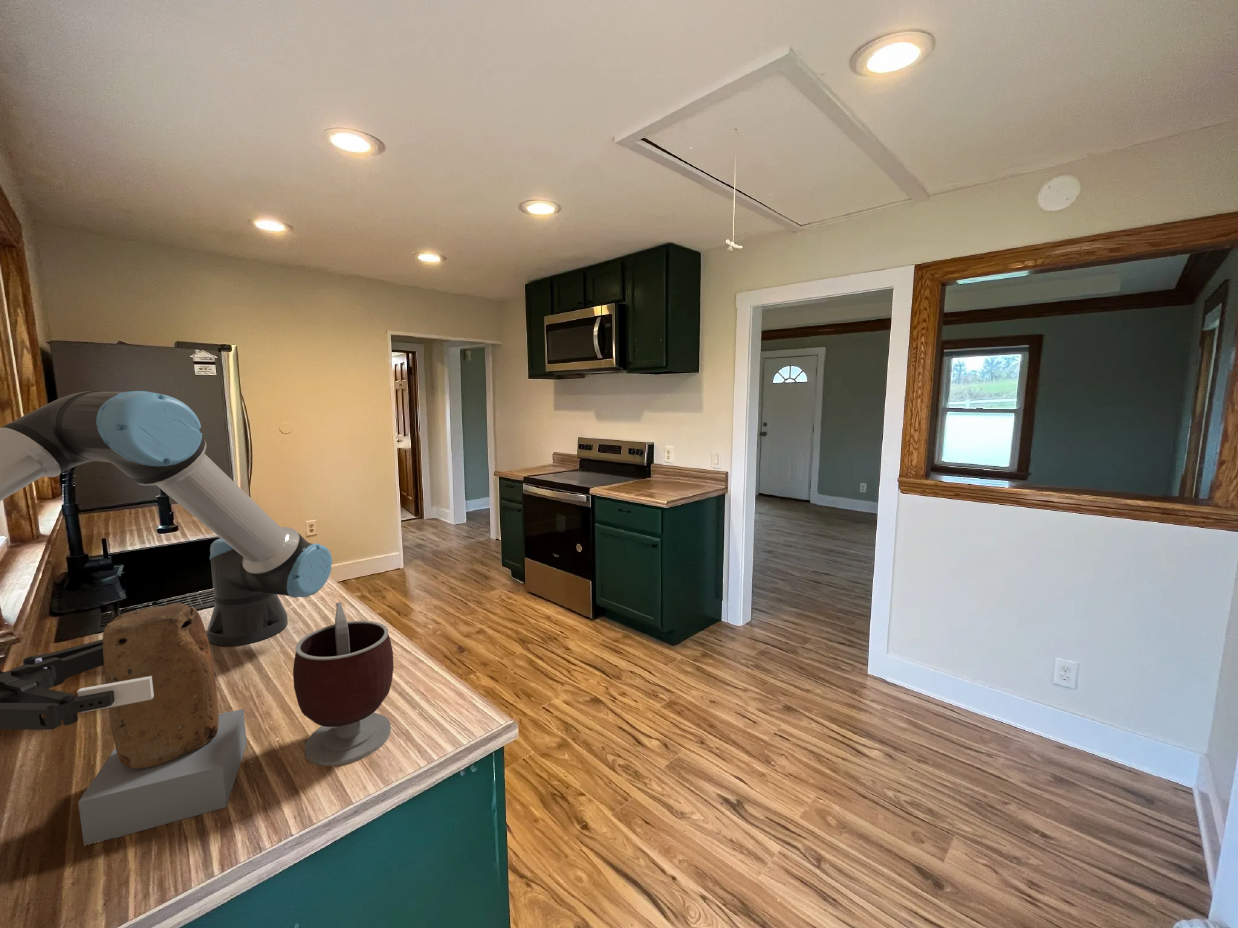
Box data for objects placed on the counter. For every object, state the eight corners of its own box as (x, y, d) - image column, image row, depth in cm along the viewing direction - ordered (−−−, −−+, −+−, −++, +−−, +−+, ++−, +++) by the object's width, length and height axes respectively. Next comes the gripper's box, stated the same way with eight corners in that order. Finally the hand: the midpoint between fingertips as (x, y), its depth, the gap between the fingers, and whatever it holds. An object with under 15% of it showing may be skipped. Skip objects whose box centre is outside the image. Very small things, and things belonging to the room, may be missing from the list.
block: (112, 781, 65) (93, 631, 62) (122, 748, 71) (106, 610, 68) (220, 748, 71) (208, 610, 69) (221, 720, 77) (210, 593, 75)
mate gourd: (403, 748, 81) (398, 627, 78) (299, 782, 73) (289, 650, 71) (387, 699, 94) (383, 594, 91) (298, 724, 86) (290, 610, 84)
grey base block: (129, 771, 75) (125, 733, 74) (246, 743, 81) (243, 708, 80) (84, 846, 62) (78, 801, 62) (226, 807, 69) (222, 765, 68)
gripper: (4, 679, 71) (197, 648, 81) (-153, 806, 49) (137, 742, 59) (-3, 628, 71) (192, 602, 80) (-167, 734, 48) (130, 681, 58)
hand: (169, 662), depth 70 cm, fingers open, 13 cm apart
